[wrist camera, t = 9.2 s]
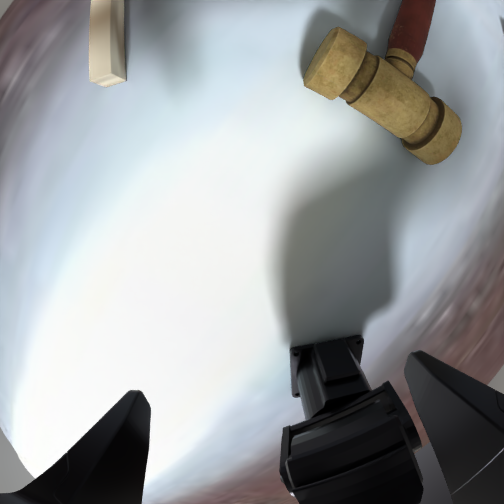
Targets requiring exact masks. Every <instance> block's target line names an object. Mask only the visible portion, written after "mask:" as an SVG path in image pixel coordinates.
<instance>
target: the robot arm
mask: <svg viewBox="0 0 504 504" xmlns="http://www.w3.org/2000/svg"><path fill="white" fill-rule="evenodd" d="M358 340H359V341H358ZM357 341H358V342H357ZM363 344H364V339H363V337H362V336H361V335H356V336H352V337H347V338H342V339H337V340H332V341H327V342H321V343H316V344H310V345H304V346H298V347H293V348H292V349H291V350H290V367H291V389H292V396H293V397H295V398H298V397H301V401H302V406H303V410H304V414H305V419H306V421H303V422H300V423H298V424H295V425H292V426H290V425H289V426H286V427H284V428H283V434H282V442H281V457H280V470H279V471H280V475H281V476H280V479H281V481H282V482H283V483H284V484H285V486H286V488H287V490H288V491H289V493H290V494H291V495H292V496H293V497H295V498H296V499H297V500H298V502H299V504H419V503H420V502H421V498H422V494H423V486H422V482H423V478H422V474H421V471H420V469H419V466H418V463H417V460H416V458H415V455H414V453H413V452H416V451H417V450H419V449H421V448H422V444H421V440H420V437H419V435H418V432H417V430H416V427H415V425H414V423H413V421H412V419H411V417H410V415H409V413H408V411H407V409H406V408H405V406H404V405H403V403H402V401H401V400H400V398H399V396H398V395H397V393H396V392H395V390H394V388H393V387H392V385H391V384H390V382H389V381H386V382H384V383H383V384H382V385H381V386H379V387H378V388H376V389H374V390H372V389H371V387H370V385H369V383H368V381H367V379H366V377H365V375H364V373H363V371H362V369H361V367H360V363H361V357H362V350H363ZM295 352H298V353H295ZM404 374H405V378H406V380H407V383H408V386H409V389H410V392H411V395H412V398H413V401H414V404H415V407H416V410H417V412H418V415H419V417H420V419H421V421H422V423H423V426H424V428H425V430H426V433H427V435H428V437H429V440H430V442H431V444H432V447H433V449H434V451H435V454H436V457H437V459H438V462H439V464H440V467H441V469H442V472H443V474H444V477H445V480H446V483H447V486H448V488H449V491H450V494H451V498H452V500H453V504H504V394H502V393H500V392H498V391H495V389H493V388H491V387H489V386H487V385H485V384H483V383H481V382H480V381H478V380H476V379H474V378H472V377H470V376H468V375H466V374H465V373H463V372H461V371H459V370H457V369H455V368H453V367H451V366H450V365H448V364H446V363H444V362H442V361H440V360H438V359H436V358H435V357H433V356H431V355H429V354H427V353H425V352H423V351H421V350H417V351H414V352H411V353H410V354H409V356H408V359H407V362H406V365H405V369H404ZM150 418H151V408H150V405H149V403H148V401H147V399H146V398H145V396H144V394H143V392H142V391H140V390H130V391H128V392H127V393H126V394H125V395H124V396H123V397H122V398H121V399H120V400H119V401H118V402H117V403H116V404H115V405H114V406H113V407H112V408H111V409H110V410H109V411H108V412H107V413H106V414H105V415H104V416H103V417H102V418H101V419H100V420H99V421H98V422H97V423H96V424H95V425H94V426H93V427H92V428H91V429H90V430H89V431H88V432H87V433H86V434H85V435H84V436H83V437H82V438H81V439H80V440H79V441H78V442H77V443H76V444H74V445H73V446H72V447H71V448H70V449H69V450H68V451H67V453H65V454H64V455H63V456H62V457H61V458H60V459H59V460H58V461H57V462H56V463H55V464H53V465H52V466H51V467H50V468H49V469H48V470H46V471H45V472H44V473H43V474H41V475H40V476H39V477H37V478H36V479H35V480H33V481H32V482H31V483H29V484H28V485H27V486H25V487H24V488H23V489H21V490H19V491H16V492H13V493H0V504H142V495H143V487H144V479H145V472H146V465H147V459H148V452H149V439H150Z"/></svg>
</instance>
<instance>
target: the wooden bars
mask: <svg viewBox="0 0 504 504" xmlns="http://www.w3.org/2000/svg"><path fill="white" fill-rule="evenodd" d="M89 77H90V82H93V83H96V84H99V85H101V86H104V87H109V86H112V85H115V84H118V83H121V82H125V81H126V68H125V46H124V0H91V11H90V28H89Z"/></svg>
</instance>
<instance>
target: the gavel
mask: <svg viewBox="0 0 504 504" xmlns="http://www.w3.org/2000/svg"><path fill="white" fill-rule="evenodd" d="M435 2H436V0H403V1H402V4H401V6H400V9H399V12H398V15H397V18H396V21H395V23H394V26H393V29H392V32H391V34H390V37H389V41H388V50H387V54H386V56H385V60H384V59H382V58H381V57H379V56H377V55H375V56H374V55H372V54H371V53H369V52H367V51H366V49H367V44H366V42H364V41H363V40H361V39H359V38H358V37H356V36H354V35H353V34H351V33H349V32H347V31H346V30H344V29H342V28H340V27H337V28H334V29H332V30H331V31H330V32H329V34H328V35H327V36H326V38H325V39H324V40H323V42H322V43H321V45H320V47H319V48H318V50H317V52H316V53H315V55H314V57H313V59H312V61H311V63H310V65H309V67H308V69H307V71H306V73H305V76H304V79H303V82H304V86H305V87H307V88H309V89H311V90H313V91H315V92H317V93H319V94H320V95H322V96H324V97H326V98H328V99H330V100H333V99H335V98H337V97H338V96H339V97H340V98H342V99H344V100H346V103H347V104H348V105H349V106H351V107H353V108H354V109H356V110H358V111H359V112H361V113H362V114H364V115H366V116H367V117H369V118H370V119H372V120H373V121H375V122H376V123H378V124H379V125H381V126H382V127H384V128H385V129H387V130H388V131H389V132H391V133H392V134H394V135H395V136H396V137H398V138H402V144H403V146H404V147H405V148H406V149H407V150H408V151H409V152H411V153H412V154H413V155H415V156H416V157H417V158H418V159H420V160H421V161H422V162H424V163H425V164H429V165H433V164H437V163H439V162H441V161H443V160H445V159H446V158H447V157H448V156H449V155H450V154H451V153H452V152H453V151H454V149H455V148H456V146H457V144H458V142H459V140H460V137H461V132H462V125H461V121H460V118H459V117H458V116H457V115H456V114H455V113H454V112H453V111H452V110H451V109H450V108H449V107H448V106H447V105H446V104H445V103H444V102H443V101H442V100H441V99H439V98H437V97H429V94H428V93H427V92H426V91H424V90H423V89H422V88H421V87H420V86H418V85H417V84H416V83H415V82H413V81H412V78H413V73H414V70H415V67H416V65H417V63H418V61H419V60H420V58H421V56H422V54H423V51H424V47H425V44H426V40H427V36H428V32H429V28H430V24H431V20H432V16H433V12H434V7H435Z"/></svg>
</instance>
